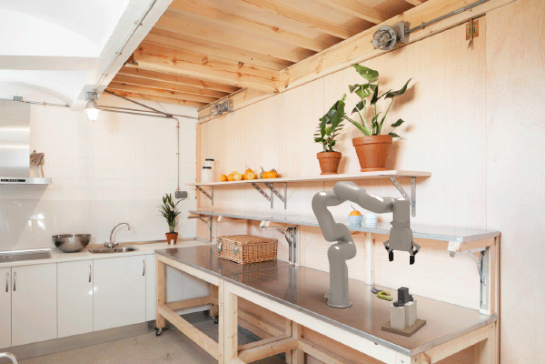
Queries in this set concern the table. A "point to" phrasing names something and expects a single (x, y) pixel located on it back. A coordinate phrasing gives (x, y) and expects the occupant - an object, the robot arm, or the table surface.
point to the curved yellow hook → (382, 294)
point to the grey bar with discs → (403, 297)
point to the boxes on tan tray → (404, 319)
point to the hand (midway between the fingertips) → (401, 262)
